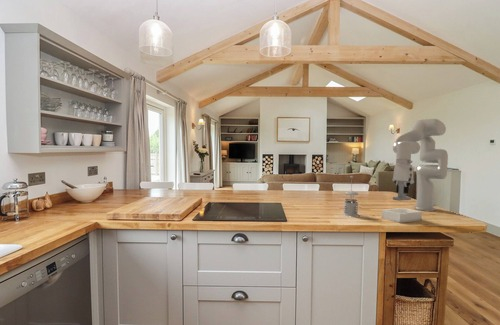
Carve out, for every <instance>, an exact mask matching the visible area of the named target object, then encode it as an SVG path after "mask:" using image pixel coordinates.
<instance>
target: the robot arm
mask: <svg viewBox="0 0 500 325" xmlns="http://www.w3.org/2000/svg"><path fill="white" fill-rule="evenodd" d="M446 129H447V127H446V124H445V123H444V122H442V121H441V120H440V119H437V118H428V119H419V120H417V121H415V122H414V124H413V126H412V127H411V129H410V130H409V131H407V132H405V133H404V134H402V135H399V136H398V137H397V138H396V139H395V141H394V143H393V145H392V151H393V152H394V154H396V156H395V157H396V158H395V159H396V161H395V165H394V167H393V168H394V169H393V176H392V179H391V180H392V182H393V183H394V184H395V186H396V193H398V181H404V185H405V187H404V192H403V193H404V194H406V195H407V194H409V189H410V186H411V185H412V184H414V183H415V180H414V168H413V164H411V163H413V160H412V155H416V154H418V153H419V160H420V162H421V163H426V164H420V165H419V164H418V166H417V167H416V171H415V172H416V179H417V180H416V183H417V185H416V188H417V189H416V205H415V206H413V209H415V210H416V211H422V212H423V211H425V212H434V211H436V208H435V207H436V206H437V203H434V188H435V187H434V183H433V181H432V180H444V179H446V177H447V175H448V164H449V162H448V161H449V154H448V151H447V150H446V149H441V148H436V141H435V139H434V137H435V136H439V137H440V136H443V135H444V134H445V133H446ZM432 136H433V137H432ZM419 142H420V143H419ZM431 179H432V180H431Z"/></svg>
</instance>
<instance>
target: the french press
mask: <svg viewBox="0 0 500 325" xmlns="http://www.w3.org/2000/svg"><path fill="white" fill-rule="evenodd" d="M349 178H351V179H350V180H351V183H350V188H351V189H350V190H348V191H345V192H344V194H345V195H347V196H350V197H352V198H345V201H344V205H343V206H344V208H343V211H344V212H343V213H342V215H343V216H344V215H345V216H344V217H349V216H351V217H352V218H357V216H358V217H360V215H359V213H358V211H359V210H358V206H359V205H358V204H359V202H357V201H358V200H357V199H355V196H358V195H359V193H358V192H356V191H354V190H353V189H352V186H353V183H352V181H353V179H354V176H353V175H350V176H349ZM351 217H350V218H351Z"/></svg>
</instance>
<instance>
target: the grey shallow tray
mask: <svg viewBox="0 0 500 325" xmlns="http://www.w3.org/2000/svg"><path fill="white" fill-rule="evenodd" d="M422 217H423V211H421V210H417V209H415V210H414V209H411V208H407V207H397V208H388V209H387V208H386V209H382V210H381V218H382V219H384V220H388V221H391V222H395V223H398V224H403V223H410V222H411V223H412V222H418V221H419V222H420V221H422V220H423V218H422Z"/></svg>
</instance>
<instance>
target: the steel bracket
mask: <svg viewBox="0 0 500 325" xmlns="http://www.w3.org/2000/svg"><path fill="white" fill-rule="evenodd" d="M404 187H405V185H404V181H398V192H397V196H393V197H392V200H393V201H398V202H401V201H410V200H412V197H410V196H407V194H404V193H403V192H404Z"/></svg>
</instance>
